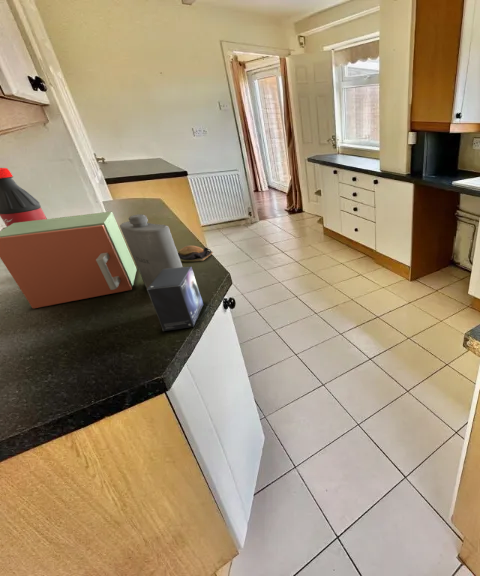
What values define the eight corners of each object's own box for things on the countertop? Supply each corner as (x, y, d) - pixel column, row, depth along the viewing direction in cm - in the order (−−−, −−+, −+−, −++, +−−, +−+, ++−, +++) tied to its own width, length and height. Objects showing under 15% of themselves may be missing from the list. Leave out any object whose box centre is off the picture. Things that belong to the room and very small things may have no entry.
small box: (196, 327, 69) (180, 285, 64) (162, 332, 68) (144, 289, 63) (205, 303, 78) (192, 264, 73) (176, 307, 76) (160, 268, 72)
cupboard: (132, 286, 87) (104, 222, 78) (35, 306, 78) (-10, 237, 69) (136, 269, 97) (111, 211, 88) (50, 286, 88) (13, 223, 79)
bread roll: (169, 262, 101) (165, 252, 100) (184, 252, 109) (180, 242, 107) (202, 262, 101) (198, 251, 99) (214, 252, 109) (211, 242, 107)
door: (127, 298, 81) (96, 231, 72) (23, 319, 73) (-26, 247, 64) (132, 288, 86) (103, 224, 77) (34, 306, 78) (-10, 238, 69)
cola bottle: (60, 266, 100) (4, 165, 86) (81, 268, 98) (28, 166, 84) (28, 278, 93) (-38, 170, 78) (51, 280, 91) (-13, 170, 77)
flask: (138, 287, 86) (106, 215, 77) (160, 278, 91) (132, 209, 81) (173, 299, 80) (143, 222, 71) (194, 289, 85) (169, 215, 75)
